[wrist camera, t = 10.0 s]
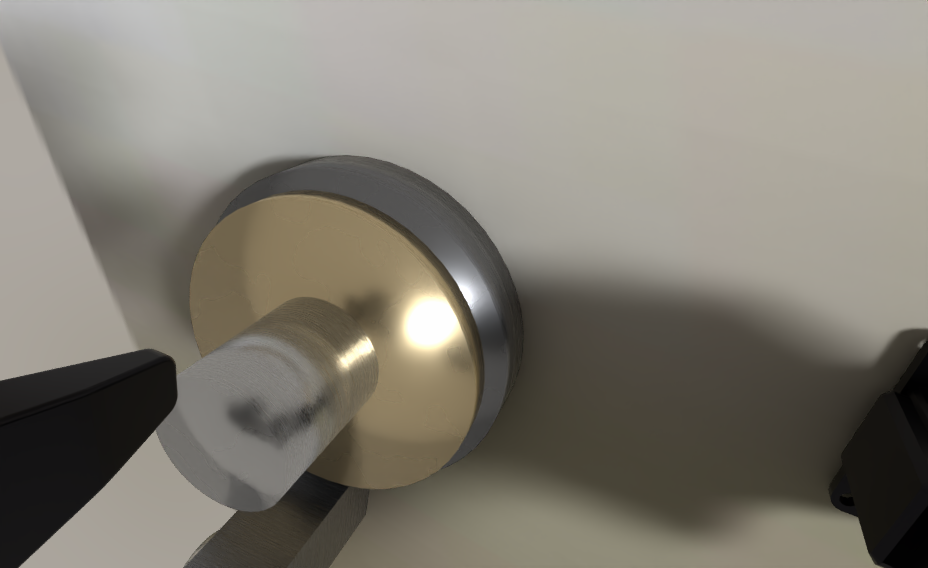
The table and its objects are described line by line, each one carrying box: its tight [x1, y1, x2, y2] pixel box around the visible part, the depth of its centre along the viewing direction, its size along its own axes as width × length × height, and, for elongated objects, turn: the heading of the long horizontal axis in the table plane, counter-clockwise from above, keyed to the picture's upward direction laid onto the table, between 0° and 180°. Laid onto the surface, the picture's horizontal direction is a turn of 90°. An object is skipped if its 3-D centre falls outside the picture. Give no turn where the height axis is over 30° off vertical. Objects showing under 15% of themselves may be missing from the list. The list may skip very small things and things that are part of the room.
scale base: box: [183, 156, 523, 568], centre depth 20 cm, size 12×17×9 cm
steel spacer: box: [156, 297, 379, 512], centre depth 18 cm, size 4×4×5 cm
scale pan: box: [190, 190, 485, 489], centre depth 21 cm, size 11×11×1 cm
